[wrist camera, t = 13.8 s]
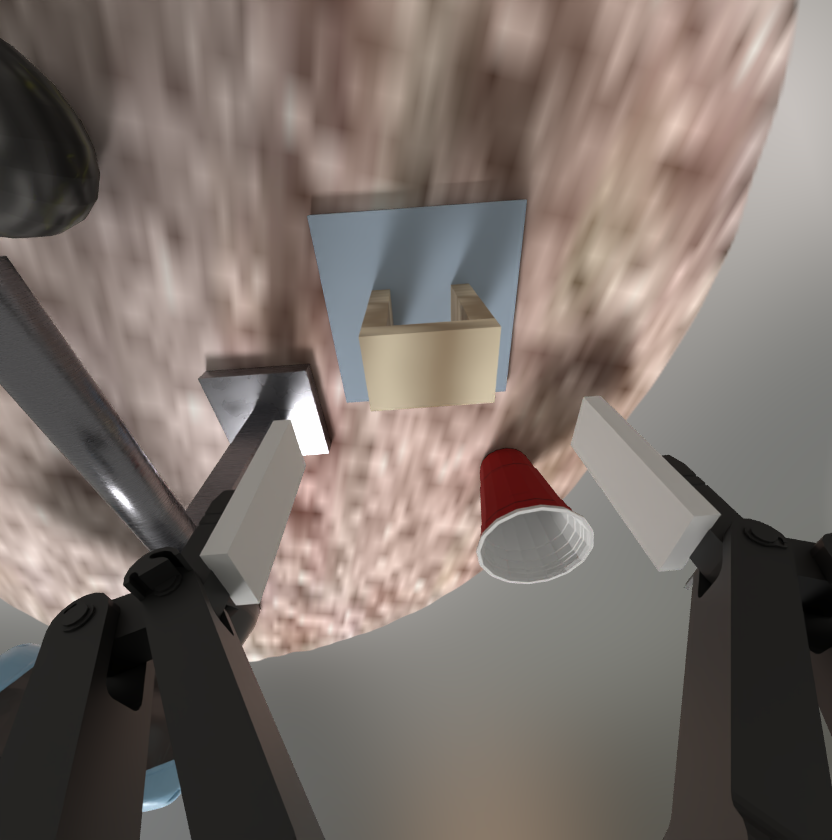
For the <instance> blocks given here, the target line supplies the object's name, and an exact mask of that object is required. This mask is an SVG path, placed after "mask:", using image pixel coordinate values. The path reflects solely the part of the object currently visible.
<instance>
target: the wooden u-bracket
mask: <svg viewBox="0 0 832 840" xmlns="http://www.w3.org/2000/svg"><path fill="white" fill-rule="evenodd" d="M500 335H501V326H500V324H499V323H498V322H497V320H496V319H495V318H494V316H493V315H492V314H491V312H490V311H489V310H488V308H487V307H486V306H485V304H484V303H483V302H482V300H481V299H480V298H479V296H478V295H477V294H476V292H475V291H474V290H473V288H472V287H471V286H470V284H469V283H468V284H454V285H451V321H449V322H435V323H421V324H407V325H394V324H393V314H392V304H391V294H390V289H385V290H372V291H371V295H370V298H369V302H368V305H367V309H366V312H365V316H364V319H363V323H362V326H361V330H360V333H359V343H360V349H361V355H362V361H363V367H364V373H365V379H366V385H367V391H368V397H369V403H370V409H371V411H384V410H398V409H411V408H425V407H439V406H453V405H467V404H481V403H494V401H495V390H496V379H497V368H498V357H499V346H500Z"/></svg>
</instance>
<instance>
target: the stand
mask: <svg viewBox="0 0 832 840" xmlns="http://www.w3.org/2000/svg"><path fill="white" fill-rule="evenodd" d="M198 380H199V382H200V384H201V386H202V388H203V390H204V392H205V394H206V396H207V398H208V400H209V402H210V404H211V406H212V408H213V410H214V412H215V414H216V416H217V418H218V420H219V422H220V424H221V426H222V428H223V430H224V432H225V434H226V436H227V438H228V440H229V442H230V445H229V447H228V448H227V450H226V451H225V453H224V454H223V456H222V457H221V459H220V460H219V462H218V463H217V465H216V466H215V468H214V469H213V471H212V472H211V474H210V475H209V477H208V478H207V480H206V481H205V483H204V484H203V486H202V487H201V489H200V490H199V492H198V493H197V495H196V496H195V498H194V499H193V501H192V502H191V504H190V505H189V507H188V508H187V509H186V511H185V510H184V508H183V507H182V505H181V504H180V503H179V501H178V500H177V498H176V497H175V496H174V494H173V493H172V491H171V490H170V488H169V487H168V486H167V484H166V483H165V481H164V480H163V478H162V477H161V476H160V474H159V473H158V471H157V470H156V468H155V467H154V466H153V464H152V463H151V461H150V460H149V459H148V457H147V456H146V454H145V453H144V451H143V450H142V449H141V447H140V446H139V444H138V443H137V441H136V440H135V439H134V437H133V436H132V434H131V433H130V431H129V430H128V429H127V427H126V426H125V424H124V423H123V421H122V420H121V419H120V417H119V416H118V414H117V413H116V412H115V410H114V409H113V407H112V406H111V404H110V403H109V402H108V400H107V399H106V397H105V396H104V394H103V393H102V392H101V390H100V389H99V387H98V386H97V384H96V383H95V382H94V380H93V379H92V377H91V376H90V374H89V373H88V372H87V370H86V369H85V367H84V366H83V365H82V363H81V362H80V360H79V359H78V357H77V356H76V355H75V353H74V352H73V350H72V349H71V347H70V346H69V345H68V343H67V342H66V340H65V339H64V337H63V336H62V335H61V333H60V332H59V330H58V329H57V327H56V326H55V325H54V323H53V322H52V320H51V319H50V318H49V316H48V315H47V313H46V312H45V310H44V309H43V308H42V306H41V305H40V303H39V302H38V300H37V299H36V298H35V296H34V295H33V293H32V292H31V290H30V289H29V288H28V286H27V285H26V283H25V282H24V280H23V279H22V278H21V276H20V275H19V273H18V272H17V271H16V269H15V268H14V266H13V265H12V263H11V262H10V261H9V259H8V258H7V256H0V384H1V386H2V387H3V388H4V389H5V390H6V391H7V392H8V393H9V394H10V396H11V397H12V398H13V399H14V400H15V401H16V402H17V403H18V405H19V406H20V407H21V408H22V409H23V410H24V411H25V412H26V414H27V415H28V416H29V417H30V418H31V419H32V420H33V421H34V422H35V424H36V425H37V426H38V427H39V428H40V429H41V430H42V431H43V433H44V434H45V435H46V436H47V437H48V438H49V439H50V440H51V442H52V443H53V444H54V445H55V446H56V447H57V448H58V449H59V451H60V452H61V453H62V454H63V455H64V456H65V457H66V458H67V459H68V461H69V462H70V463H71V464H72V465H73V466H74V467H75V468H76V470H77V471H78V472H79V473H80V474H81V475H82V476H83V477H84V479H85V480H86V481H87V482H88V483H89V484H90V485H91V486H92V487H93V489H94V490H95V491H96V492H97V493H98V494H99V495H100V496H101V498H102V499H103V500H104V501H105V502H106V503H107V504H108V505H109V507H110V508H111V509H112V510H113V511H114V512H115V513H116V514H117V515H118V517H119V518H120V519H121V520H122V521H123V522H124V523H125V524H126V526H127V527H128V528H129V529H130V530H131V531H132V532H133V533H134V535H135V536H136V537H137V538H138V539H139V540H140V541H141V542H142V543H143V545H144V546H145V547H146V548H147V549H148V550H149V551H150V552H151V551H154V550H156V549H158V548H163V547H173V548H176V549H177V550H178V551H179V552H180V553H181V552H182V550H183V549H184V547H185V545H186V544H187V542H188V540H189V539H190V537H191V536H192V534H193V532H194V531H195V529H196V527H197V526H199V522H200V521H201V519H202V517H203V516H205V512H206V511H207V509H208V507H209V506H210V504H211V502H212V501H213V500H214V499H215V498H216V497H217V496H219V495H220V494H221V493H222V492H223V491H225V490H236V488H237V486H238V484H239V483H240V481H241V479H242V477H243V475H244V473H245V472H246V470H247V468H248V466H249V464H250V462H251V461H252V459H253V457H254V455H255V453H256V452H257V450H258V448H259V446H260V444H261V442H262V441H263V439H264V437H265V435H266V433H267V431H268V430H269V428H270V426H271V424H272V422H273V421H276V420H289V419H291V422H292V425H293V428H294V431H295V434H296V437H297V440H298V443H299V446H300V449H301V452H302V455H312V454H326V453H329V451H330V447H331V442H330V438H329V435H328V431H327V427H326V423H325V420H324V416H323V412H322V409H321V405H320V401H319V397H318V394H317V390H316V386H315V382H314V379H313V375H312V371H311V368H310V364H303V365H289V366H275V367H262V368H248V369H234V370H220V371H206V372H205V373H204V374H203V375H202V376H200V377H199V378H198Z"/></svg>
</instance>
